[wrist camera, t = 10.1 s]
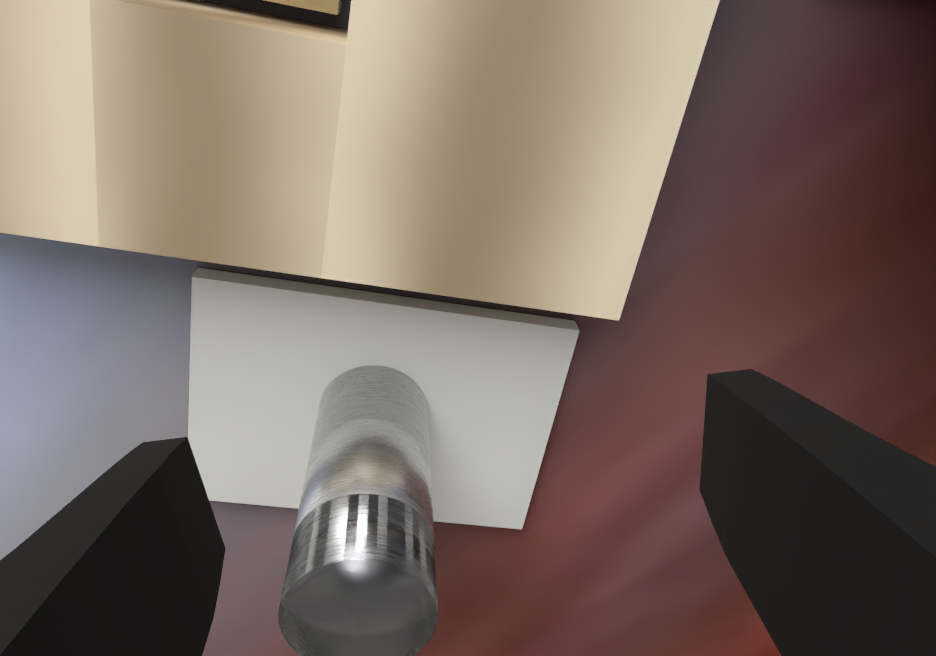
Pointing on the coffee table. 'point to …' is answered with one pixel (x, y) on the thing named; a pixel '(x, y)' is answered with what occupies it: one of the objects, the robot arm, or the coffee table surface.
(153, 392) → the coffee table surface
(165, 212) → the socket block
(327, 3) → the tan flat square block
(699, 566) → the coffee table surface
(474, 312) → the mat
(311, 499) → the metal cylinder
